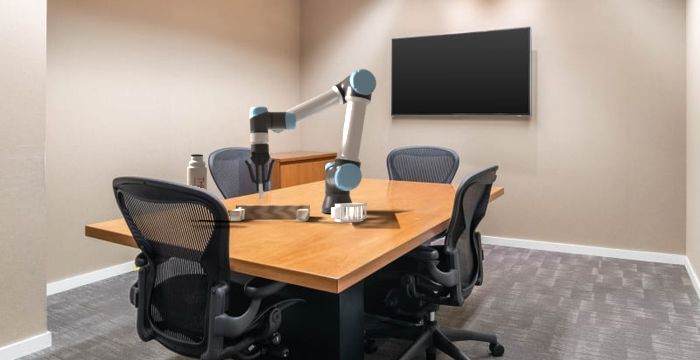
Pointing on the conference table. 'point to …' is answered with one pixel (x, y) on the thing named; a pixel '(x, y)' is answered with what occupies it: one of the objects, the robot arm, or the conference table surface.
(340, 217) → the car outline toy
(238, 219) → the folding leg
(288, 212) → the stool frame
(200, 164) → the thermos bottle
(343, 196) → the robot arm
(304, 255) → the conference table surface
